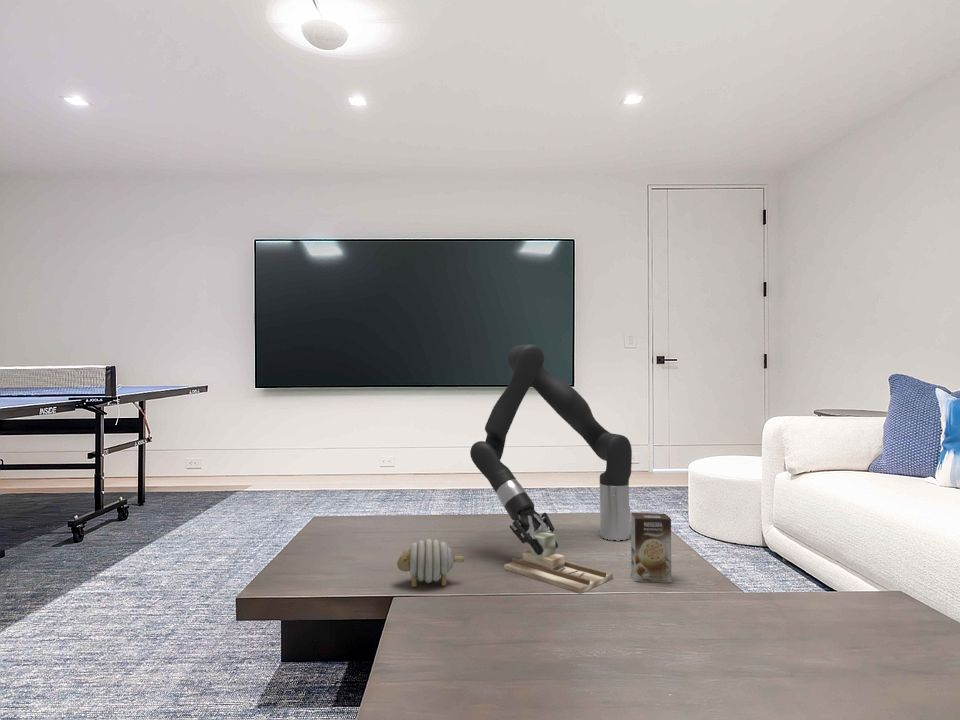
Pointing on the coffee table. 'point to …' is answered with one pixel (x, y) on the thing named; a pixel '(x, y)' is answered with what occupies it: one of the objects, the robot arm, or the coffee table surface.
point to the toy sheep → (428, 561)
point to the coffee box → (651, 547)
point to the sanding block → (545, 553)
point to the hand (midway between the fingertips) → (548, 550)
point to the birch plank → (561, 574)
